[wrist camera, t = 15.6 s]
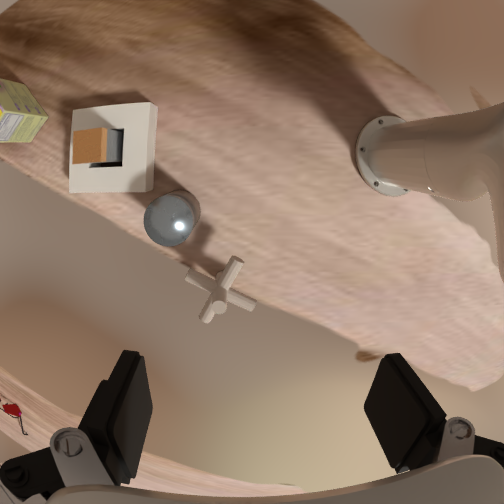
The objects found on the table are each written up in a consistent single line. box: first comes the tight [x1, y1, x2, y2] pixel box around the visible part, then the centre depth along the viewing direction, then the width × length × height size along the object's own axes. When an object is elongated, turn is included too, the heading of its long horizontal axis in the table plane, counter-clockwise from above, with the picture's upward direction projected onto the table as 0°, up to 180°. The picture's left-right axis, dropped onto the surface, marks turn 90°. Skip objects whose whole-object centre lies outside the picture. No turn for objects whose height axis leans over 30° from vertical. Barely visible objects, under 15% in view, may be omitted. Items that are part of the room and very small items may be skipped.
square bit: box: [72, 127, 124, 164], centre depth 33 cm, size 4×4×10 cm
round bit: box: [144, 190, 201, 246], centre depth 37 cm, size 6×6×8 cm
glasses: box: [0, 400, 28, 435], centre depth 52 cm, size 14×16×5 cm
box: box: [0, 78, 49, 142], centre depth 29 cm, size 10×6×12 cm, turn 40°
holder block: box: [69, 102, 158, 193], centre depth 36 cm, size 12×12×4 cm
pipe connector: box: [185, 256, 257, 323], centre depth 40 cm, size 10×10×10 cm
